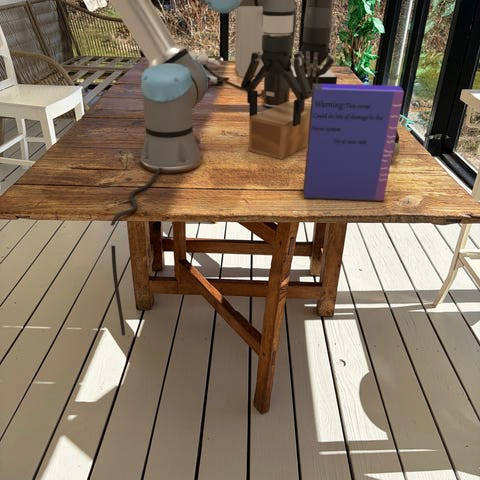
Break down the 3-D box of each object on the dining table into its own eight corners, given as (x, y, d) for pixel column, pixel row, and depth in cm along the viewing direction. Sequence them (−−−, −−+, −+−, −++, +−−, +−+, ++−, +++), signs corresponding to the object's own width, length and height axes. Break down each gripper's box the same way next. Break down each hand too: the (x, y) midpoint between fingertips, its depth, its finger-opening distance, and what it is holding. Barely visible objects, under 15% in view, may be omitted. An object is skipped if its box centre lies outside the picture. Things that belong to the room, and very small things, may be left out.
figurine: (151, 84, 182) (229, 91, 185) (152, 62, 179) (231, 70, 183) (156, 81, 204) (226, 88, 208) (157, 62, 201) (227, 69, 205)
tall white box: (273, 76, 210) (276, 6, 196) (239, 77, 209) (240, 6, 194) (266, 67, 226) (268, 2, 212) (235, 67, 225) (235, 1, 210)
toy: (175, 75, 210) (174, 58, 206) (151, 64, 228) (150, 49, 224) (222, 69, 222) (222, 53, 218) (195, 59, 239) (195, 45, 236)
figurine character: (397, 170, 124) (390, 144, 136) (403, 143, 120) (396, 119, 131) (371, 168, 125) (366, 143, 137) (376, 142, 120) (371, 118, 132)
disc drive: (292, 89, 190) (292, 76, 188) (286, 77, 210) (286, 65, 207) (335, 90, 191) (337, 77, 188) (325, 77, 210) (327, 65, 208)
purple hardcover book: (379, 191, 109) (398, 84, 97) (383, 201, 105) (404, 90, 93) (303, 188, 110) (312, 82, 98) (304, 197, 106) (314, 88, 94)
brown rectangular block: (285, 133, 145) (287, 101, 140) (316, 140, 140) (319, 108, 135) (248, 150, 131) (249, 116, 127) (281, 159, 126) (283, 124, 121)
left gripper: (331, 36, 112) (322, 125, 123) (244, 28, 124) (244, 109, 135) (315, 40, 107) (308, 132, 118) (227, 31, 119) (228, 115, 130)
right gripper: (346, 25, 129) (338, 90, 138) (303, 21, 136) (298, 83, 145) (333, 28, 124) (326, 95, 133) (289, 23, 130) (285, 88, 139)
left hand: (274, 120), depth 126 cm, fingers open, 13 cm apart
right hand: (311, 89), depth 139 cm, fingers closed
